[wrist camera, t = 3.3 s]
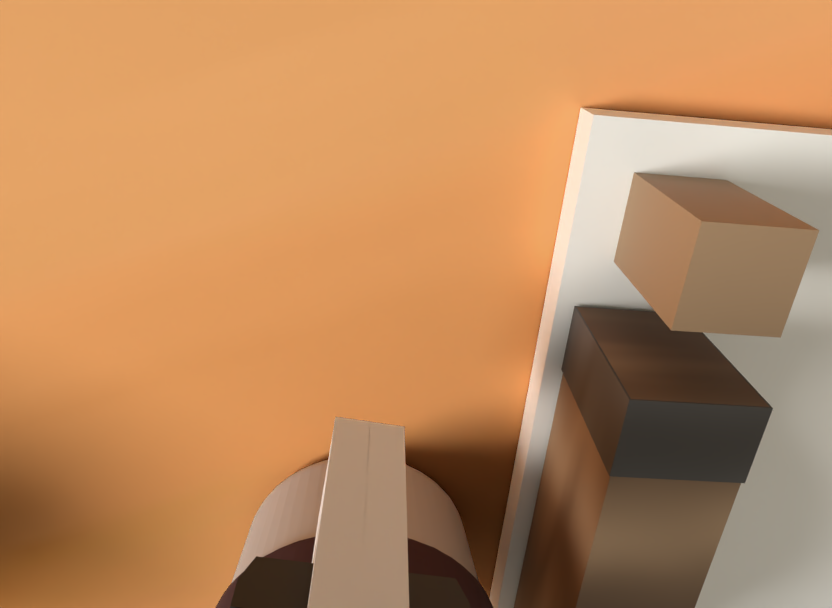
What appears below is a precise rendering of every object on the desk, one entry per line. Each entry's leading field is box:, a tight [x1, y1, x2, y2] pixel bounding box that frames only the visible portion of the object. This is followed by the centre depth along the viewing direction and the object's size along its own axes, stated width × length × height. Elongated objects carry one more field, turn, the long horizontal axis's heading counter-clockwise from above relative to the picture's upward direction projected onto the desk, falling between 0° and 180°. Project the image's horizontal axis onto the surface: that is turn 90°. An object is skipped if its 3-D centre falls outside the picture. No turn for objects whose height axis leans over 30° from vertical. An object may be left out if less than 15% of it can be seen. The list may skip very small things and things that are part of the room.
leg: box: [514, 306, 773, 608], centre depth 18 cm, size 14×3×5 cm, turn 175°
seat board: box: [489, 107, 832, 608], centre depth 20 cm, size 22×16×5 cm
